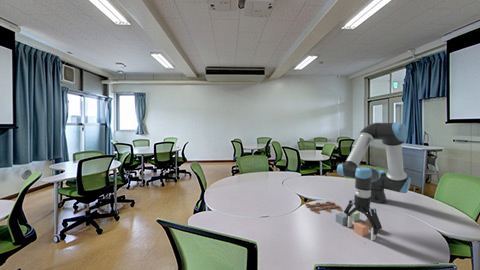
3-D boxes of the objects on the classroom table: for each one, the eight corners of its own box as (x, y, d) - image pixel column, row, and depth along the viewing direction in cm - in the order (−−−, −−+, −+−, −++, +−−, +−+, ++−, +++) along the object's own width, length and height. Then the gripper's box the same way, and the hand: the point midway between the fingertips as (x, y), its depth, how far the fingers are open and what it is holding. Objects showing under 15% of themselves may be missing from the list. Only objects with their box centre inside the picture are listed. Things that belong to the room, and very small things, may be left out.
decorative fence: (303, 205, 146) (314, 215, 131) (303, 203, 146) (314, 212, 131) (330, 202, 150) (344, 211, 136) (330, 200, 150) (344, 209, 135)
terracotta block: (359, 229, 112) (359, 221, 112) (368, 234, 108) (368, 225, 107) (353, 231, 110) (353, 223, 110) (362, 236, 106) (362, 227, 105)
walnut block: (370, 225, 116) (371, 217, 116) (379, 230, 112) (380, 221, 111) (365, 227, 114) (365, 219, 114) (374, 232, 110) (374, 223, 109)
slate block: (341, 220, 123) (341, 212, 123) (348, 223, 119) (348, 216, 118) (335, 221, 121) (335, 214, 121) (342, 225, 117) (342, 217, 116)
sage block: (352, 216, 127) (352, 209, 127) (359, 220, 123) (359, 212, 122) (346, 218, 125) (347, 210, 125) (354, 222, 121) (354, 214, 120)
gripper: (338, 189, 117) (336, 223, 119) (382, 206, 94) (380, 247, 96) (346, 187, 120) (345, 220, 122) (391, 203, 97) (389, 243, 99)
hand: (360, 232), depth 109 cm, fingers open, 13 cm apart
